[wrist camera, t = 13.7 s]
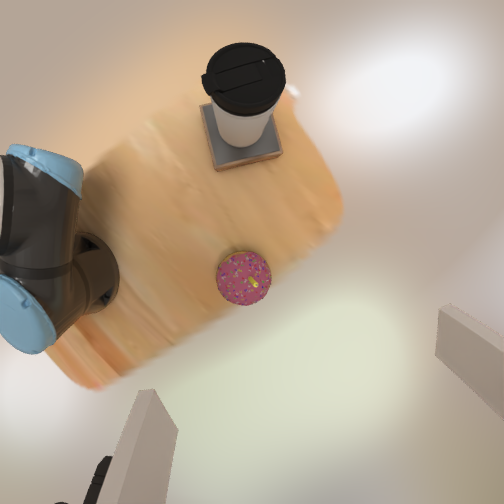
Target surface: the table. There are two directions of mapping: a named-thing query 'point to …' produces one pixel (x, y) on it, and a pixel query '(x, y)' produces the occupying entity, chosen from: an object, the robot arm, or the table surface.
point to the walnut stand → (235, 157)
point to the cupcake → (243, 278)
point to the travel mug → (243, 90)
